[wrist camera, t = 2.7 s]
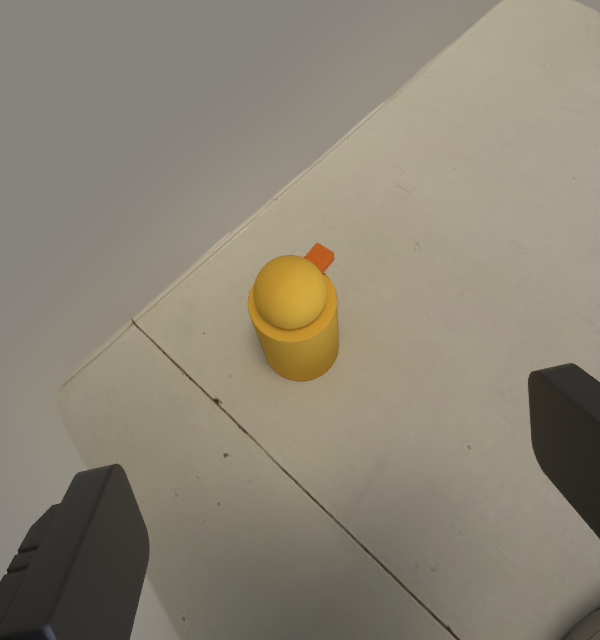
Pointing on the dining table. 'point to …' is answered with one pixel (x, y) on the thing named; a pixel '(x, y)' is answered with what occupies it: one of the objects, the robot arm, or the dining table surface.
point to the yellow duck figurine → (296, 314)
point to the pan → (587, 628)
